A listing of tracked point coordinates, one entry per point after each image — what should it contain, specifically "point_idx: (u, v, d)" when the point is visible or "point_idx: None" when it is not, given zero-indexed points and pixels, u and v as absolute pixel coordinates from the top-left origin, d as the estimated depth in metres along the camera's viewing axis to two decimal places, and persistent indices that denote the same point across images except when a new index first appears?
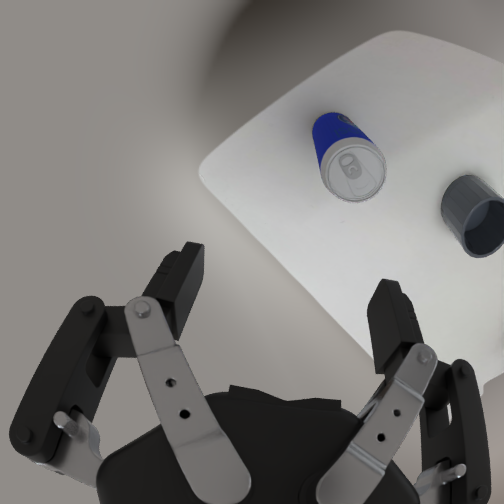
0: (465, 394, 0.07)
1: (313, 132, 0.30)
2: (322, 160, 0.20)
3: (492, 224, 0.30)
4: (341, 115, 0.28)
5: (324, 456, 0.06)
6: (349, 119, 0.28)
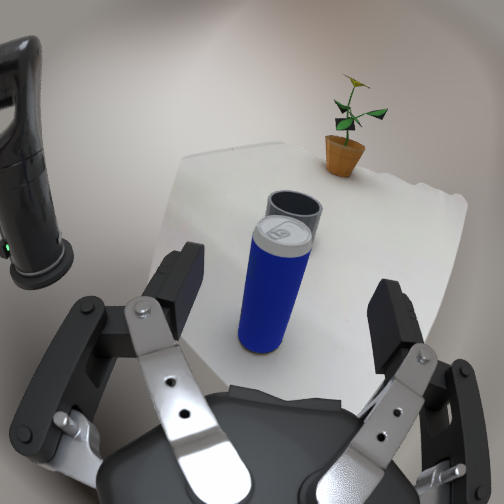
0: (465, 394, 0.07)
1: (262, 343, 0.30)
2: (281, 255, 0.23)
3: (293, 211, 0.52)
4: (239, 322, 0.32)
5: (324, 456, 0.06)
6: None
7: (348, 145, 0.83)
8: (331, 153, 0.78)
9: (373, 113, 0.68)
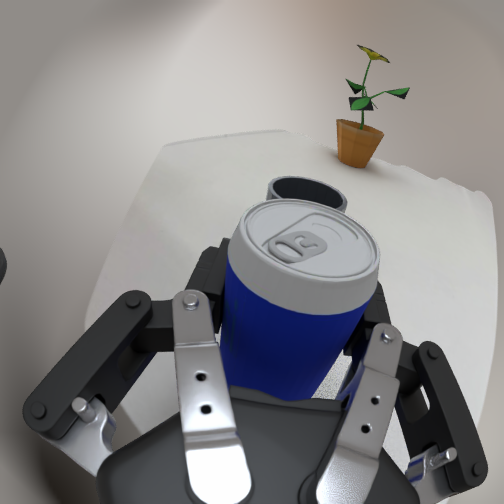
0: (438, 377, 0.07)
1: None
2: (306, 311, 0.08)
3: None
4: None
5: (325, 456, 0.06)
6: None
7: None
8: (343, 139, 0.63)
9: (393, 92, 0.53)
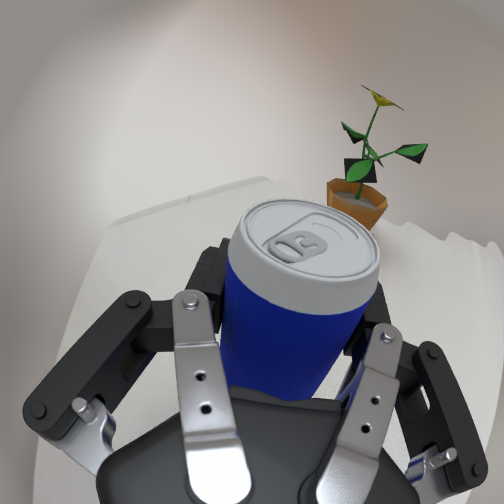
0: (438, 377, 0.07)
1: None
2: (306, 311, 0.08)
3: None
4: None
5: (324, 456, 0.06)
6: None
7: (360, 193, 0.56)
8: None
9: (406, 151, 0.41)
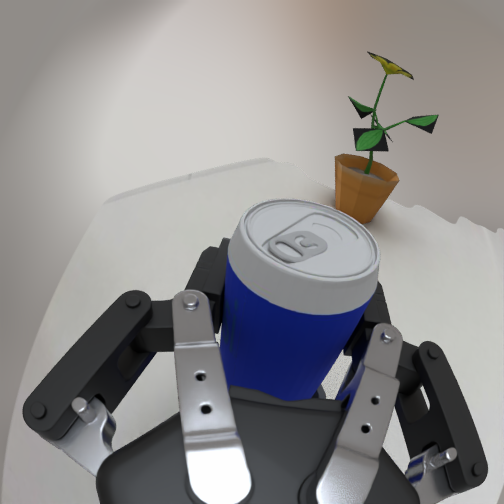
0: (438, 377, 0.07)
1: None
2: (306, 311, 0.08)
3: None
4: None
5: (325, 457, 0.06)
6: None
7: (369, 170, 0.52)
8: (344, 187, 0.48)
9: (416, 121, 0.37)
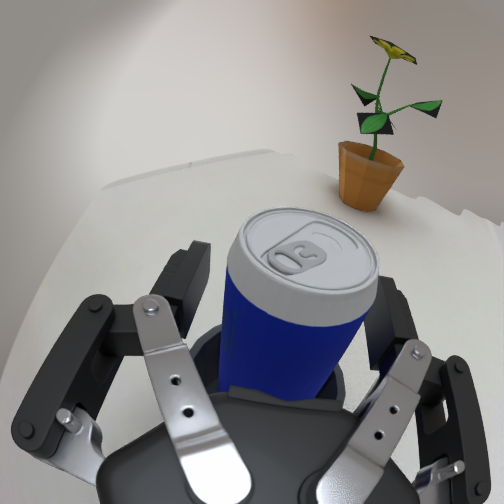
0: (461, 390, 0.07)
1: None
2: (304, 323, 0.08)
3: None
4: None
5: (325, 456, 0.06)
6: None
7: (373, 157, 0.51)
8: (348, 172, 0.46)
9: (421, 106, 0.36)
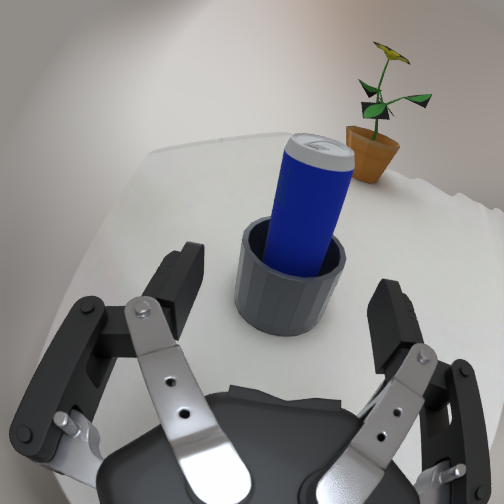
0: (465, 394, 0.07)
1: None
2: (320, 167, 0.17)
3: None
4: None
5: (324, 456, 0.06)
6: None
7: (376, 140, 0.59)
8: (353, 150, 0.55)
9: (413, 98, 0.44)
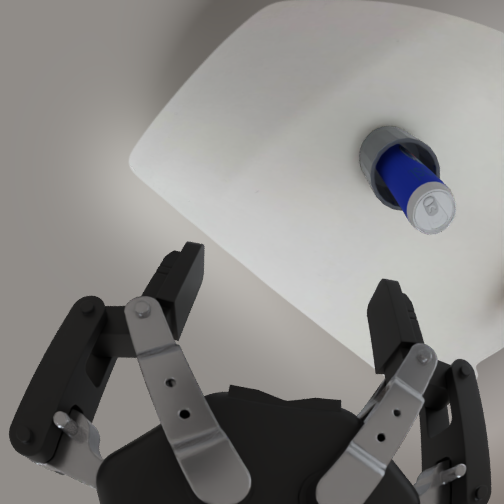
0: (465, 394, 0.07)
1: (378, 163, 0.32)
2: (409, 201, 0.23)
3: None
4: (401, 146, 0.30)
5: (325, 456, 0.06)
6: (407, 150, 0.31)
7: None
8: None
9: None
